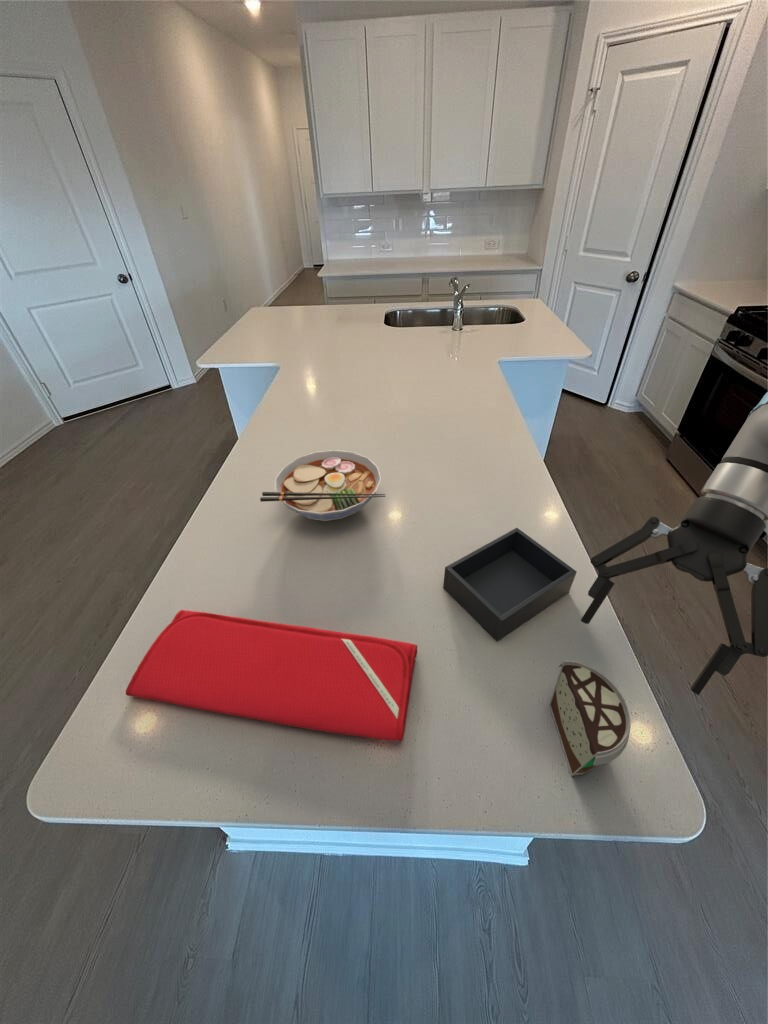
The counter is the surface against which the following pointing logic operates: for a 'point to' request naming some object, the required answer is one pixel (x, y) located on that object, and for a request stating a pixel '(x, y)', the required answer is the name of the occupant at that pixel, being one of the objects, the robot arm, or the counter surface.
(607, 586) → the robot arm
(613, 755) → the halved ice cream tub
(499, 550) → the bin
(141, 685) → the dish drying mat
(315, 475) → the ramen bowl
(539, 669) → the counter surface
